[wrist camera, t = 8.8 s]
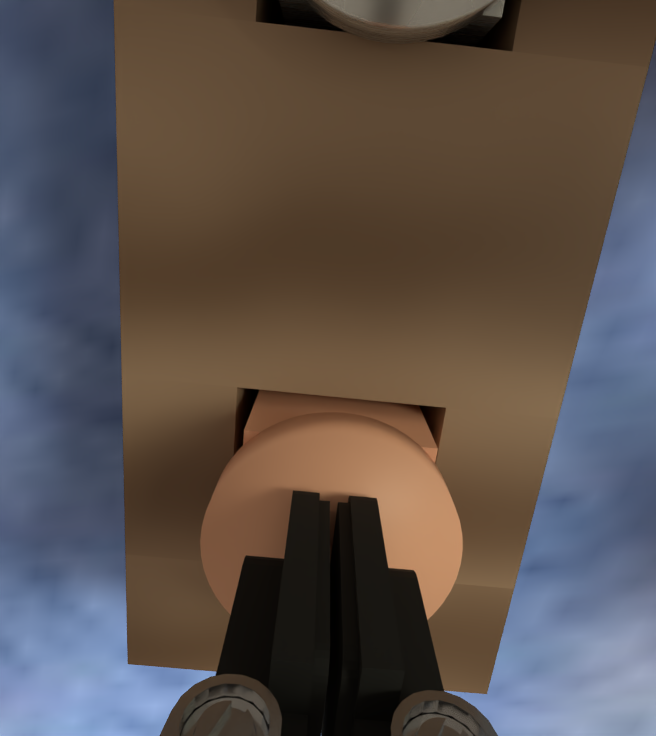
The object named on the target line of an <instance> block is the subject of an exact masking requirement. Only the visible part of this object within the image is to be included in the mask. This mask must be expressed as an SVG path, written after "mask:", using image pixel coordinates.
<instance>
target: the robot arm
mask: <svg viewBox="0 0 656 736" xmlns="http://www.w3.org/2000/svg"><path fill="white" fill-rule="evenodd" d="M160 736H498V735H497V733H496V732H495V730H494V729H493V727H492V725H491V724H490V722H489V720H488V719H487V718H486V717H485V716H484V715H483V714H482V713H481V712H480V711H479V710H478V709H477V708H476V707H474V706H473V705H471V704H470V703H468V702H467V701H465V700H464V699H462V698H460V697H458V696H455V695H452V694H450V693H447V692H444V689H443V684H442V680H441V676H440V672H439V667H438V663H437V659H436V655H435V650H434V646H433V642H432V638H431V633H430V629H429V625H428V621H427V616H426V612H425V608H424V604H423V599H422V595H421V591H420V587H419V582H418V578H417V575H416V572H415V571H414V570H407V569H396V568H388V563H387V557H386V550H385V544H384V538H383V532H382V526H381V519H380V513H379V507H378V501H377V498H370V497H359V496H349V498H348V503H344V502H338V505H337V513H336V521H335V529H334V537H333V545H332V553H331V561H330V501H322V500H320V493H316V492H305V491H294V490H293V493H292V501H291V509H290V516H289V524H288V532H287V540H286V547H285V555H284V559H282V558H270V557H259V556H248V555H246V556H245V558H244V561H243V565H242V569H241V573H240V578H239V582H238V586H237V590H236V594H235V598H234V602H233V606H232V611H231V615H230V619H229V623H228V627H227V631H226V635H225V639H224V644H223V648H222V652H221V656H220V660H219V664H218V668H217V673H216V676H213V677H209V678H207V679H205V680H203V681H201V682H199V683H197V684H195V685H194V686H192V687H191V688H190V689H189V690H188V691H187V692H185V693H184V694H183V695H182V696H181V697H180V699H179V700H178V702H177V703H176V705H175V706H174V708H173V709H172V711H171V713H170V715H169V717H168V719H167V721H166V723H165V725H164V727H163V730H162V732H161V734H160Z"/></svg>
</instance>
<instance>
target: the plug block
mask: <svg viewBox="0 0 656 736" xmlns="http://www.w3.org/2000/svg"><path fill="white" fill-rule="evenodd" d="M114 35H115V82H116V130H117V177H118V224H119V271H120V318H121V365H122V413H123V460H124V507H125V554H126V601H127V649H128V664H134V665H146V666H158V667H169V668H181V669H193V670H205V671H217V668H218V664H219V660H220V656H221V652H222V648H223V644H224V639H225V635H226V631H227V627H228V623H229V619H230V614H229V613H228V611H227V610H226V609H225V608H224V607H223V606H222V604H221V603H220V602H219V600H218V599H217V597H216V596H215V594H214V592H213V590H212V589H211V587H210V585H209V583H208V580H207V577H206V575H205V572H204V569H203V564H202V559H201V548H200V538H201V529H202V524H203V520H204V516H205V513H206V510H207V507H208V505H209V502H210V500H211V498H212V495H213V493H214V490H215V488H216V485H217V483H218V481H219V478H220V476H221V474H222V472H223V470H224V469H225V467H226V465H227V464H228V462H229V461H230V459H231V458H232V457H233V456H234V455H235V453H236V452H237V451H238V450H239V449H240V448H241V447H242V446H243V439H244V429H245V426H246V424H247V421H248V418H249V416H250V413H251V411H252V408H253V405H254V403H255V400H256V398H257V395H258V392H259V390H270V391H280V392H290V393H301V394H311V395H321V396H331V397H342V398H352V399H362V400H372V401H383V402H393V403H403V404H413V405H419V407H420V409H421V411H422V413H423V416H424V418H425V420H426V423H427V425H428V427H429V430H430V432H431V434H432V436H433V439H434V441H435V443H436V446H437V448H438V450H437V456H436V461H435V464H436V466H437V467H438V469H439V471H440V473H441V475H442V477H443V479H444V481H445V483H446V486H447V488H448V490H449V493H450V495H451V498H452V500H453V503H454V505H455V508H456V511H457V514H458V517H459V520H460V524H461V530H462V537H463V552H462V559H461V565H460V569H459V572H458V575H457V579H456V581H455V583H454V585H453V587H452V589H451V591H450V593H449V595H448V596H447V598H446V599H445V601H444V602H443V604H442V605H441V606H440V607H439V608H438V610H437V611H436V612H435V613H434V614H433V615H432V616H431V617H430V618H429V619H428V620H427V621H428V625H429V629H430V633H431V638H432V642H433V646H434V650H435V655H436V659H437V663H438V667H439V672H440V676H441V680H442V684H443V689H444V690H445V691H457V692H469V693H481V694H487V691H488V687H489V683H490V680H491V676H492V672H493V668H494V664H495V660H496V656H497V653H498V649H499V645H500V641H501V637H502V633H503V629H504V625H505V622H506V618H507V614H508V610H509V606H510V602H511V598H512V594H513V591H514V587H515V583H516V579H517V575H518V571H519V567H520V563H521V560H522V556H523V552H524V548H525V544H526V540H527V536H528V532H529V529H530V525H531V521H532V517H533V513H534V509H535V505H536V501H537V498H538V494H539V490H540V486H541V482H542V478H543V474H544V470H545V467H546V463H547V459H548V455H549V451H550V447H551V443H552V439H553V436H554V432H555V428H556V424H557V420H558V416H559V412H560V409H561V405H562V401H563V397H564V393H565V389H566V385H567V381H568V378H569V374H570V370H571V366H572V362H573V358H574V354H575V350H576V347H577V343H578V339H579V335H580V331H581V327H582V323H583V319H584V316H585V312H586V308H587V304H588V300H589V296H590V292H591V288H592V285H593V281H594V277H595V273H596V269H597V265H598V261H599V257H600V254H601V250H602V246H603V242H604V238H605V234H606V230H607V226H608V223H609V219H610V215H611V211H612V207H613V203H614V199H615V195H616V192H617V188H618V184H619V180H620V176H621V172H622V168H623V165H624V161H625V157H626V153H627V149H628V145H629V141H630V137H631V134H632V130H633V126H634V122H635V118H636V114H637V110H638V106H639V103H640V99H641V95H642V91H643V87H644V83H645V79H646V75H647V72H648V68H649V64H650V60H651V56H652V52H653V48H654V44H655V41H656V0H505V3H504V8H503V14H502V18H501V19H500V20H499V21H498V22H497V23H496V24H495V25H494V26H493V28H492V29H491V30H490V31H489V32H488V33H487V34H486V35H485V36H484V37H483V38H482V40H481V41H480V42H479V43H478V44H477V45H476V46H475V47H470V46H461V45H452V44H444V43H435V42H426V41H424V42H415V43H406V44H399V43H383V42H378V41H373V40H367V39H364V38H361V37H359V36H356V35H353V34H350V33H348V32H340V31H331V30H323V29H314V28H305V27H297V26H288V25H285V21H284V17H283V13H282V9H281V5H280V1H279V0H114Z"/></svg>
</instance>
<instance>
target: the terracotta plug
mask: <svg viewBox="0 0 656 736" xmlns="http://www.w3.org/2000/svg"><path fill="white" fill-rule="evenodd" d="M437 450H438V448H437V446H436V443H435V441H434V439H433V436H432V434H431V432H430V430H429V427H428V425H427V423H426V420H425V418H424V416H423V413H422V411H421V409H420V407H419V405H413V404H403V403H393V402H383V401H372V400H362V399H352V398H342V397H331V396H321V395H311V394H301V393H290V392H280V391H270V390H259V392H258V395H257V398H256V400H255V403H254V405H253V408H252V411H251V413H250V416H249V418H248V421H247V424H246V426H245V429H244V439H243V446H242V447H241V448H240V449H239V450H238V451H237V452H236V453H235V455H234V456H233V457H232V458H231V459H230V461H229V462H228V464H227V465H226V467H225V469H224V470H223V472H222V474H221V476H220V478H219V481H218V483H217V485H216V488H215V490H214V493H213V495H212V498H211V500H210V502H209V505H208V507H207V510H206V513H205V516H204V520H203V524H202V529H201V538H200V548H201V559H202V564H203V569H204V572H205V575H206V577H207V580H208V583H209V585H210V587H211V589H212V590H213V592H214V594H215V596H216V597H217V599H218V600H219V602H220V603H221V604H222V606H223V607H224V608H225V609H226V610H227V611H228V613H229V614H230V615H231V611H232V606H233V602H234V598H235V594H236V590H237V586H238V582H239V578H240V573H241V569H242V565H243V561H244V558H245V556H246V555H248V556H259V557H270V558H282V559H284V555H285V547H286V540H287V532H288V524H289V516H290V509H291V501H292V493H293V490H294V491H305V492H316V493H320V500H322V501H330V561H331V553H332V545H333V537H334V529H335V521H336V513H337V505H338V502H344V503H348V498H349V496H359V497H370V498H377V501H378V507H379V513H380V519H381V526H382V532H383V538H384V544H385V550H386V557H387V563H388V568H396V569H407V570H414V571H415V572H416V575H417V578H418V582H419V587H420V591H421V595H422V599H423V604H424V608H425V612H426V616H427V620H428V619H429V618H430V617H431V616H432V615H433V614H434V613H435V612H436V611H437V610H438V608H439V607H440V606H441V605H442V604H443V602H444V601H445V599H446V598H447V596H448V595H449V593H450V591H451V589H452V587H453V585H454V583H455V581H456V579H457V575H458V572H459V569H460V565H461V559H462V552H463V537H462V530H461V524H460V520H459V517H458V514H457V511H456V508H455V505H454V503H453V500H452V498H451V495H450V493H449V490H448V488H447V486H446V483H445V481H444V479H443V477H442V475H441V473H440V471H439V469H438V467H437V466H436V464H435V461H436V456H437Z"/></svg>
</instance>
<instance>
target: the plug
mask: <svg viewBox="0 0 656 736" xmlns="http://www.w3.org/2000/svg"><path fill="white" fill-rule="evenodd" d="M279 1H280V5H281V9H282V13H283V17H284V21H285V25H288V26H297V27H305V28H314V29H323V30H331V31H340V32H348V33H350V34H353V35H356V36H359V37H361V38H364V39H367V40H373V41H378V42H383V43H399V44H406V43H415V42H424V41H426V42H435V43H444V44H452V45H461V46H470V47H475V46H476V45H477V44H478V43H479V42H480V41H481V40H482V38H483V37H484V36H485V35H486V34H487V33H488V32H489V31H490V30H491V29H492V28H493V26H494V25H495V24H496V23H497V22H498V21H499V20H500V19H501V18H502V14H503V8H504V3H505V0H279Z"/></svg>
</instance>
